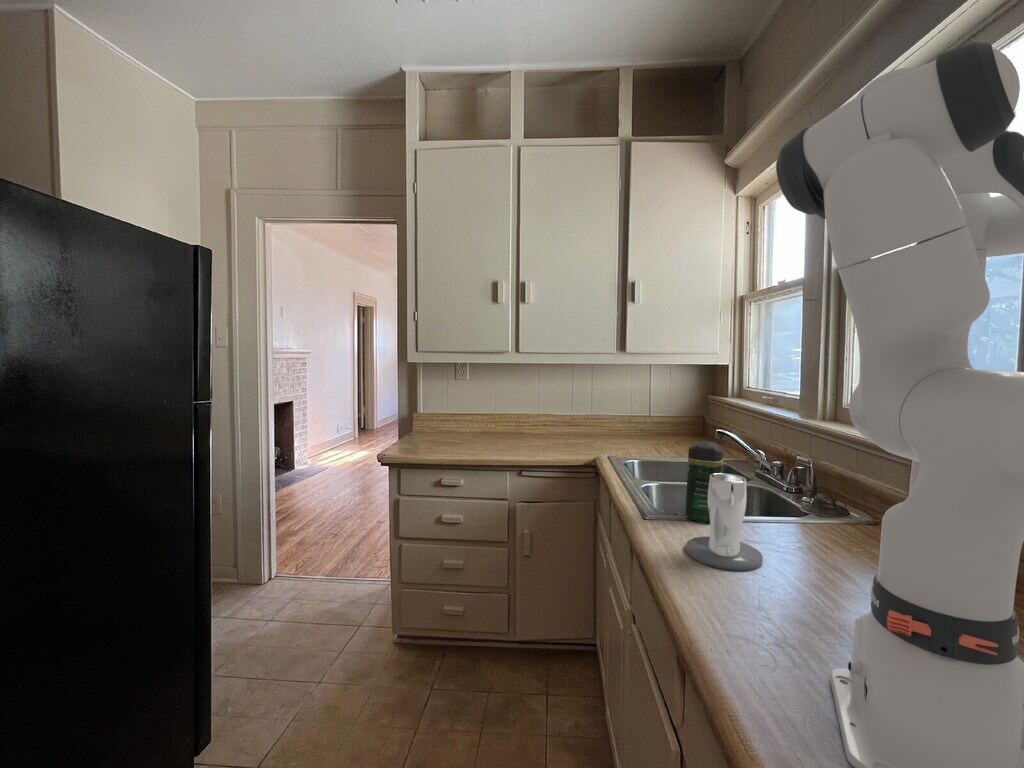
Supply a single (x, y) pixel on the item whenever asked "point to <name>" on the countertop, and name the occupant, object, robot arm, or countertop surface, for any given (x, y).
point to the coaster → (745, 562)
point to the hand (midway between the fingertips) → (938, 363)
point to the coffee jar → (701, 477)
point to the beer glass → (726, 513)
